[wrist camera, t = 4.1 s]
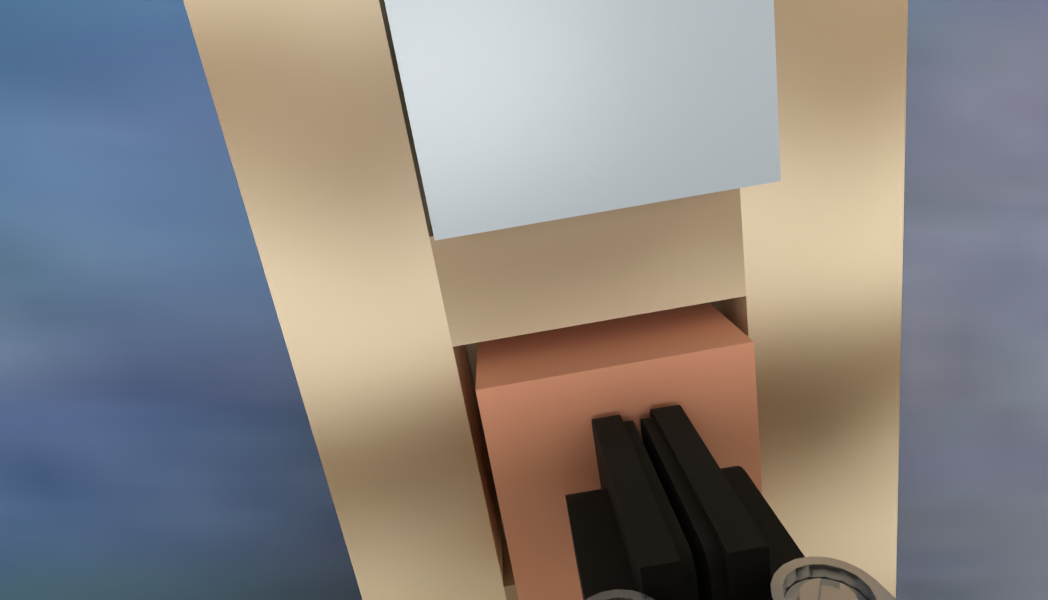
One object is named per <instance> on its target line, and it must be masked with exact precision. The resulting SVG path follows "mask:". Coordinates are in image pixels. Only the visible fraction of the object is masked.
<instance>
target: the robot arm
mask: <svg viewBox="0 0 1048 600" xmlns="http://www.w3.org/2000/svg"><path fill="white" fill-rule="evenodd" d="M592 430H593V437H594V444H595V450H596V457H597V464H598V471H599V478H600V485H601V489H598V490H592V491H586V492H580V493H574V494H568V495H565V498H566V504H567V510H568V516H569V522H570V528H571V534H572V540H573V546H574V551H575V557H576V563H577V568H578V574H579V579H580V585H581V590H582V596H583V600H897V599H896V598H895V597H894V596H892V595H891V594H890V593H889V592H888V591H887V590H886V589H885V588H884V587H883V586H882V585H881V584H880V583H879V582H878V581H877V580H876V579H874V578H873V577H872V576H870V575H869V574H868V573H866V572H865V571H864V570H862V569H860V568H858V567H856V566H854V565H852V564H849V563H847V562H845V561H841V560H837V559H833V558H829V557H813V556H810V557H805V556H804V555H803V553H802V552H801V550H800V549H799V548H798V546H797V545H796V543H795V542H794V540H793V539H792V537H791V536H790V535H789V533H788V532H787V530H786V529H785V527H784V526H783V524H782V523H781V522H780V520H779V519H778V517H777V516H776V514H775V513H774V511H773V510H772V509H771V507H770V506H769V504H768V503H767V501H766V500H765V498H764V497H763V496H762V494H761V493H760V491H759V490H758V488H757V487H756V485H755V484H754V483H753V481H752V480H751V478H750V477H749V475H748V474H747V473H746V471H745V470H744V469H743V468H742V467H741V466H733V467H727V468H721V469H720V467H719V466H718V464H717V463H716V461H715V459H714V458H713V456H712V455H711V453H710V451H709V450H708V448H707V447H706V445H705V443H704V442H703V440H702V439H701V437H700V435H699V434H698V432H697V431H696V429H695V428H694V426H693V424H692V423H691V421H690V420H689V418H688V416H687V415H686V413H685V412H684V410H683V408H682V407H681V406H680V405H673V406H667V407H661V408H655V409H650V417H648V418H642V419H641V432H642V439H641V437H640V435H639V433H638V430H637V428H636V426H635V424H634V422H633V420H630V421H624V422H623V420H622V417H621V415H614V416H608V417H602V418H596V419H592ZM642 441H643V442H642Z"/></svg>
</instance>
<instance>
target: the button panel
mask: <svg viewBox="0 0 1048 600" xmlns="http://www.w3.org/2000/svg"><path fill="white" fill-rule="evenodd" d="M183 1H184V4H185V8H186V11H187V14H188V18H189V21H190V24H191V28H192V31H193V34H194V38H195V41H196V44H197V48H198V51H199V54H200V58H201V61H202V64H203V68H204V71H205V74H206V78H207V81H208V84H209V88H210V91H211V95H212V98H213V101H214V105H215V108H216V111H217V115H218V118H219V121H220V125H221V128H222V131H223V135H224V138H225V141H226V145H227V148H228V151H229V155H230V158H231V161H232V165H233V168H234V171H235V175H236V178H237V181H238V185H239V188H240V192H241V195H242V198H243V202H244V205H245V208H246V212H247V215H248V218H249V222H250V225H251V228H252V232H253V235H254V238H255V242H256V245H257V248H258V252H259V255H260V258H261V262H262V265H263V268H264V272H265V275H266V278H267V282H268V285H269V289H270V292H271V295H272V299H273V302H274V305H275V309H276V312H277V315H278V319H279V322H280V325H281V329H282V332H283V335H284V339H285V342H286V345H287V349H288V352H289V355H290V359H291V362H292V365H293V369H294V372H295V375H296V379H297V382H298V385H299V389H300V392H301V396H302V399H303V402H304V406H305V409H306V412H307V416H308V419H309V422H310V426H311V429H312V432H313V436H314V439H315V442H316V446H317V449H318V452H319V456H320V459H321V462H322V466H323V469H324V472H325V476H326V479H327V482H328V486H329V489H330V493H331V496H332V499H333V503H334V506H335V509H336V513H337V516H338V519H339V523H340V526H341V529H342V533H343V536H344V539H345V543H346V546H347V549H348V553H349V556H350V559H351V563H352V566H353V569H354V573H355V576H356V579H357V583H358V586H359V590H360V593H361V596H362V600H518V595H517V590H516V585H515V580H514V575H513V570H512V566H511V561H510V556H509V551H508V546H507V541H506V536H505V531H504V527H503V522H502V517H501V512H500V507H499V502H498V497H497V493H496V488H495V483H494V478H493V473H492V468H491V463H490V458H489V454H488V449H487V444H486V439H485V434H484V429H483V424H482V420H481V415H480V410H479V405H478V400H477V395H476V390H475V389H476V366H477V343H478V342H483V341H489V340H495V339H501V338H506V337H512V336H518V335H524V334H529V333H535V332H541V331H547V330H553V329H558V328H564V327H570V326H576V325H581V324H587V323H593V322H599V321H604V320H610V319H616V318H622V317H627V316H633V315H639V314H645V313H651V312H656V311H662V310H668V309H674V308H679V307H685V306H691V305H697V304H702V303H708V302H709V303H710V304H711V305H712V306H713V307H715V308H716V309H717V310H718V311H719V312H720V313H721V314H723V315H724V316H725V317H726V318H727V319H728V320H729V321H731V322H732V323H733V324H734V325H735V326H736V327H737V328H739V329H740V330H741V331H742V332H743V333H744V334H745V335H747V336H748V337H749V338H750V339H751V340H752V341H754V354H755V372H756V389H757V407H758V425H759V443H760V461H761V479H762V496H763V497H764V498H765V500H766V501H767V503H768V504H769V506H770V507H771V509H772V510H773V511H774V513H775V514H776V516H777V517H778V519H779V520H780V522H781V523H782V524H783V526H784V527H785V529H786V530H787V532H788V533H789V535H790V536H791V537H792V539H793V540H794V542H795V543H796V545H797V546H798V548H799V549H800V550H801V552H802V553H803V555H804V556H805V557H810V556H813V557H829V558H833V559H837V560H841V561H845V562H847V563H849V564H852V565H854V566H856V567H858V568H860V569H862V570H864V571H865V572H866V573H868V574H869V575H870V576H872V577H873V578H874V579H876V580H877V581H878V582H879V583H880V584H881V585H882V586H883V587H884V588H885V589H886V590H887V591H888V592H889V593H890V594H891V595H892V596H894V597H895V598H896V560H897V511H898V462H899V413H900V365H901V316H902V267H903V218H904V170H905V121H906V72H907V23H908V0H774V19H775V45H776V71H777V97H778V123H779V148H780V174H781V181H778V182H772V183H766V184H760V185H754V186H749V187H743V188H737V189H731V190H725V191H720V192H714V193H708V194H702V195H696V196H691V197H685V198H679V199H673V200H667V201H662V202H656V203H650V204H644V205H638V206H633V207H627V208H621V209H615V210H609V211H604V212H598V213H592V214H586V215H580V216H575V217H569V218H563V219H557V220H551V221H546V222H540V223H534V224H528V225H522V226H517V227H511V228H505V229H499V230H493V231H488V232H482V233H476V234H470V235H464V236H459V237H453V238H447V239H441V240H435V239H434V235H433V230H432V225H431V220H430V216H429V211H428V206H427V201H426V197H425V192H424V187H423V182H422V178H421V173H420V168H419V163H418V158H417V154H416V149H415V144H414V139H413V135H412V130H411V125H410V120H409V116H408V111H407V106H406V101H405V97H404V92H403V87H402V82H401V78H400V73H399V68H398V63H397V59H396V54H395V49H394V44H393V40H392V35H391V30H390V25H389V21H388V16H387V11H386V6H385V2H384V0H183Z"/></svg>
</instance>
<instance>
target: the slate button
mask: <svg viewBox="0 0 1048 600" xmlns="http://www.w3.org/2000/svg"><path fill="white" fill-rule="evenodd" d="M384 2H385V6H386V11H387V16H388V21H389V25H390V30H391V35H392V40H393V44H394V49H395V54H396V59H397V63H398V68H399V73H400V78H401V82H402V87H403V92H404V97H405V101H406V106H407V111H408V116H409V120H410V125H411V130H412V135H413V139H414V144H415V149H416V154H417V158H418V163H419V168H420V173H421V178H422V182H423V187H424V192H425V197H426V201H427V206H428V211H429V216H430V220H431V225H432V230H433V235H434V239H435V240H441V239H447V238H453V237H459V236H464V235H470V234H476V233H482V232H488V231H493V230H499V229H505V228H511V227H517V226H522V225H528V224H534V223H540V222H546V221H551V220H557V219H563V218H569V217H575V216H580V215H586V214H592V213H598V212H604V211H609V210H615V209H621V208H627V207H633V206H638V205H644V204H650V203H656V202H662V201H667V200H673V199H679V198H685V197H691V196H696V195H702V194H708V193H714V192H720V191H725V190H731V189H737V188H743V187H749V186H754V185H760V184H766V183H772V182H778V181H781V174H780V148H779V123H778V97H777V71H776V45H775V19H774V0H384Z"/></svg>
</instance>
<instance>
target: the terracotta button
mask: <svg viewBox="0 0 1048 600" xmlns="http://www.w3.org/2000/svg"><path fill="white" fill-rule="evenodd" d="M475 390H476V395H477V400H478V405H479V410H480V415H481V420H482V424H483V429H484V434H485V439H486V444H487V449H488V454H489V458H490V463H491V468H492V473H493V478H494V483H495V488H496V493H497V497H498V502H499V507H500V512H501V517H502V522H503V527H504V531H505V536H506V541H507V546H508V551H509V556H510V561H511V566H512V570H513V575H514V580H515V585H516V590H517V595H518V600H583V596H582V590H581V585H580V579H579V574H578V568H577V563H576V557H575V551H574V546H573V540H572V534H571V528H570V522H569V516H568V510H567V504H566V498H565V495H568V494H574V493H580V492H586V491H592V490H598V489H601V485H600V478H599V471H598V464H597V457H596V450H595V444H594V437H593V430H592V419H596V418H602V417H608V416H614V415H621V417H622V420H623V422H624V421H630V420H633V422H634V424H635V426H636V428H637V430H638V433H639V435H640V437H641V439H642V432H641V419H642V418H648V417H650V409H655V408H661V407H667V406H673V405H680V406H681V407H682V408H683V410H684V412H685V413H686V415H687V416H688V418H689V420H690V421H691V423H692V424H693V426H694V428H695V429H696V431H697V432H698V434H699V435H700V437H701V439H702V440H703V442H704V443H705V445H706V447H707V448H708V450H709V451H710V453H711V455H712V456H713V458H714V459H715V461H716V463H717V464H718V466H719V467H720V469H721V468H727V467H733V466H741V467H742V468H743V469H744V470H745V471H746V473H747V474H748V475H749V477H750V478H751V480H752V481H753V483H754V484H755V485H756V487H757V488H758V490H759V491H760V493H761V494H762V479H761V461H760V443H759V425H758V407H757V389H756V372H755V354H754V341H752V340H751V339H750V338H749V337H748V336H747V335H745V334H744V333H743V332H742V331H741V330H740V329H739V328H737V327H736V326H735V325H734V324H733V323H732V322H731V321H729V320H728V319H727V318H726V317H725V316H724V315H723V314H721V313H720V312H719V311H718V310H717V309H716V308H715V307H713V306H712V305H711V304H710V303H709V302H708V303H702V304H697V305H691V306H685V307H679V308H674V309H668V310H662V311H656V312H651V313H645V314H639V315H633V316H627V317H622V318H616V319H610V320H604V321H599V322H593V323H587V324H581V325H576V326H570V327H564V328H558V329H553V330H547V331H541V332H535V333H529V334H524V335H518V336H512V337H506V338H501V339H495V340H489V341H483V342H478V343H477V366H476V389H475ZM642 442H643V441H642Z"/></svg>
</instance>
